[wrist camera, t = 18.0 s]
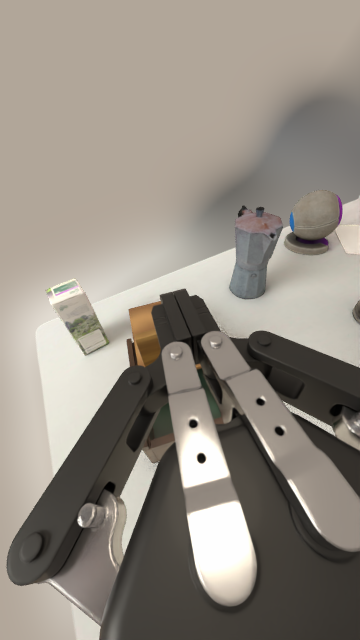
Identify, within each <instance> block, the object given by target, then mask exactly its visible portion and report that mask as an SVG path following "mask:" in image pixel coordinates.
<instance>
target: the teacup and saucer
mask: <svg viewBox="0 0 360 640" xmlns="http://www.w3.org/2000/svg"><path fill="white" fill-rule="evenodd" d="M335 232H336V234H337V236H338V238H339V240H340V242H341V244H342V246H343V248H344V250H345V252H346V254H360V225H338V227H337V228H336V229H335Z"/></svg>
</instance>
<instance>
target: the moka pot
mask: <svg viewBox="0 0 360 640" xmlns="http://www.w3.org/2000/svg"><path fill="white" fill-rule="evenodd" d="M242 215H243V216H242ZM282 228H283V224H282V221H281V218H280V217H278V216H275V215H272V214H269V213H266V212H264V208H263V207H259V208H257V209H256V213H253V212H252V211H251V210H248V209H247V208H246V207H245V206H242V209H241V210H240V211H239V213H238V218H237V219H235V233H236V264H235V268H234V272H233V275H232V279H231V283H230V287H229V288H230V290H231V291H232V293H233V294H234V295H236V296H238V297H240V298H244V299H253V298H257V297H259V296H261V295H262V294H263V293H264V292H265V285H266V271H267V264H268V261H269V259H270V258H271V256H272V254H273V251H274V249H275V246H276V243H277V241H278V238H279V236H280V233H281V231H282Z"/></svg>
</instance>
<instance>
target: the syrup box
mask: <svg viewBox="0 0 360 640" xmlns="http://www.w3.org/2000/svg"><path fill="white" fill-rule="evenodd" d="M45 291H46V293H47V296H48V299H49V301H50V303H51V305H52V307H53V309H54V310H55V311H56V313H57V314H58V316H59V317H60V319H61V320H62V322H63V323H64V325H65V326H66V328H67V330H68V331H69V333H70V334H71V336H72V337H73V339H74V340H75V342H76V343H77V345H78V346H79V348H80V349H81V351H82V352H83V354H84V355H87V354H89V353H91V352H93V351H95V350H96V349H98V348H100V347H102V346H104V345H106V344H108V343H109V341H108V339H107V336H106V334H105V332H104V330H103V328H102V326H101V324H100V322H99V320H98V318H97V316H96V314H95V312H94V310H93V308H92V306H91V304H90V302H89V300H88V298H87V296H86V294H85V292H84V291H83V289H82V287H81V286H80V284H79V283H78V281H77V280H76V279H75V278H74V279H72V280H69V281H67V282H64V283H62V284H59V285H57V286H54V287H52V288H49V289H47V290H45Z"/></svg>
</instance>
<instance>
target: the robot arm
mask: <svg viewBox="0 0 360 640" xmlns="http://www.w3.org/2000/svg"><path fill="white" fill-rule="evenodd" d="M160 300H161V304H159V305H155V306H153V308H152V311H151V315H152V318H153V322H154V326H155V330H156V334H157V337H158V341H159V345H160V348H161V351H160V354H159V356H158V358H157V359H156V360H155V361H154V362H153V363H151V364H150V365H148V366H146V367H144V366H141V365H135V366H131V367H129V368H127V369H126V370H125V371H124V372H123V373H122V374H121V376H120V377H119V379H118V380H117V382H116V383H115V385H114V386H113V388H112V390H111V391H110V393H109V394H108V396H107V397H106V399H105V400H104V402H103V403H102V405H101V406H100V408H99V409H98V411H97V412H96V414H95V415H94V417H93V418H92V420H91V422H90V423H89V425H88V426H87V428H86V429H85V431H84V432H83V434H82V435H81V437H80V438H79V440H78V441H77V443H76V444H75V446H74V447H73V449H72V451H71V452H70V454H69V455H68V457H67V458H66V460H65V461H64V463H63V464H62V466H61V467H60V469H59V470H58V472H57V473H56V475H55V476H54V478H53V480H52V481H51V483H50V484H49V486H48V487H47V489H46V490H45V492H44V493H43V495H42V496H41V498H40V499H39V501H38V502H37V504H36V505H35V507H34V508H33V510H32V512H31V513H30V515H29V516H28V518H27V519H26V521H25V522H24V524H23V525H22V527H21V528H20V530H19V531H18V533H17V535H16V536H15V538H14V540H13V542H12V544H11V546H10V549H9V552H8V556H7V573H8V576H9V578H10V580H11V581H12V582H13V583H14V584H16V585H20V586H23V585H29V584H33V583H38V584H40V583H49V584H50V585H51V586H53V587H54V588H55V589H56V590H58V591H59V592H60V593H61V594H62V595H63V596H65V597H66V598H67V599H68V600H69V601H71V602H72V603H73V604H74V605H76V606H77V607H78V608H79V609H80V610H82V611H83V612H84V613H85V614H86V615H88V616H89V617H90V618H91V619H92V620H94V621H95V622H96V623H97V624H98V625H100V626H101V629H100V637H99V640H360V368H359V367H356V366H354V365H351V364H349V363H346V362H343V361H341V360H338V359H336V358H333V357H331V356H328V355H326V354H323V353H321V352H318V351H316V350H313V349H311V348H308V347H306V346H303V345H300V344H298V343H295V342H293V341H290V340H288V339H285V338H283V337H280V336H278V335H275V334H273V333H270V332H267V331H256V332H254V333H252V334H251V335H250V336H249V338H247V339H237V338H231V337H228V336H227V335H226V334H225V333H223V332H221V331H220V329H219V327H218V326H217V324H216V322H215V320H214V319H213V317H212V315H211V313H210V312H209V310H208V308H207V307H206V304H205V303H204V301H203V299H201V298H200V297H198V296H197V295H194V296H189V294H188V292H187V290H186V289H181V290H177V291H173V293H172V292H169V293H165V294H161V295H160ZM353 316H354V318H355V319H356V321H357V322H358V323H360V300H359V301H358V303H357V304H356V306H355V307H354V309H353ZM197 364H200V365H201V367H202V372H203V377H204V379H205V381H206V383H207V385H208V387H209V389H210V391H211V393H212V395H213V397H214V399H215V401H216V403H217V405H218V407H219V410H220V413H221V417H222V420H223V423H224V424H215V423H214V420H213V416H212V413H211V410H210V406H209V403H208V400H207V396H206V393H205V390H204V388H203V387H202V385H201V382H200V379H199V376H198V372H197V369H196V365H197ZM283 401H284V402H286V403H288V404H290V405H292V406H294V407H296V408H297V409H299V410H301V411H303V412H305V413H307V414H309V415H311V416H313V417H315V418H316V419H318V420H320V421H322V422H324V423H326V424H328V425H330V426H332V428H333V431H334V433H335V436H336V437H335V436H334V435H332V434H330V433H328V432H327V431H325V430H323V429H321V428H320V427H318V426H316V425H314V424H313V423H311V422H309V421H307V420H306V419H304V418H302V417H300V416H299V415H296V414H294V413H292V412H290V411H289V410H288V408H287V407H286V406H285V404H284V403H283ZM168 402H169V407H170V413H171V419H172V425H173V431H174V437H175V442H174V443H173V444H172V445H171V446H170V447H169V448H168V449H167V450H166V451H165V453H164V454H163V456H162V458H161V460H160V462H159V464H158V466H157V469H156V471H155V474H154V477H153V479H152V482H151V485H150V487H149V490H148V493H147V496H146V498H145V501H144V504H143V506H142V509H141V512H140V514H139V517H138V520H137V522H136V525H135V528H134V530H133V533H132V536H131V539H130V541H129V544H128V547H127V549H126V552H125V555H123V551H122V534H123V530H124V527H125V524H126V518H127V512H126V506H125V504H124V502H123V500H122V499H121V498H120V495H121V493H122V491H123V488H124V486H125V484H126V482H127V480H128V478H129V476H130V473H131V471H132V469H133V467H134V465H135V463H136V461H137V459H138V456H139V454H140V452H141V450H142V448H143V446H144V444H145V441H146V439H147V437H148V435H149V433H150V431H151V429H152V427H153V424H154V422H155V420H156V418H157V416H158V414H159V412H160V409H161V407H163V406H164V405H166V404H167V403H168Z"/></svg>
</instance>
